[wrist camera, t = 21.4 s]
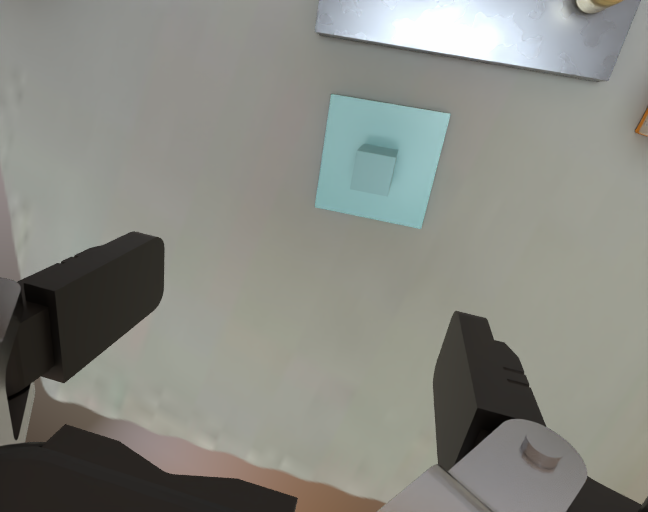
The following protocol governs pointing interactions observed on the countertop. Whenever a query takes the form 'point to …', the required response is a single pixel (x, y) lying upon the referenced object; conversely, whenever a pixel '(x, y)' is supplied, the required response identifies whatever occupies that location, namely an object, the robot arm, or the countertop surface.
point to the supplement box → (643, 125)
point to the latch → (595, 5)
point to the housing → (489, 31)
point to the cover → (379, 159)
